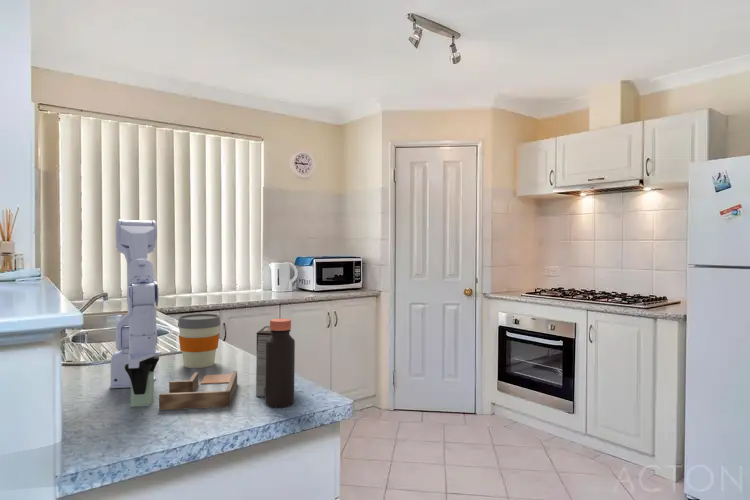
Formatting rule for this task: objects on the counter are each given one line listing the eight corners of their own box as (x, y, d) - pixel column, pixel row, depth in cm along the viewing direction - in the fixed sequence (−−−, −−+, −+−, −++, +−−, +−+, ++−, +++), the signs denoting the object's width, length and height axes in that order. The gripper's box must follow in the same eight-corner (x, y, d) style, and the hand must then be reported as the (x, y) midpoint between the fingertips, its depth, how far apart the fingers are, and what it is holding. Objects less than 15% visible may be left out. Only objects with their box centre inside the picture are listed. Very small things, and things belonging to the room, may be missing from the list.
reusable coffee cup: (220, 358, 160) (220, 312, 159) (220, 367, 148) (220, 318, 147) (178, 361, 156) (179, 314, 155) (176, 371, 144) (176, 320, 143)
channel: (159, 410, 110) (159, 394, 110) (176, 386, 129) (176, 373, 129) (229, 406, 113) (229, 391, 113) (237, 383, 132) (237, 370, 132)
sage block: (130, 406, 113) (130, 376, 113) (135, 401, 117) (135, 372, 116) (149, 405, 113) (149, 375, 113) (153, 400, 117) (153, 371, 117)
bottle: (259, 406, 114) (260, 321, 114) (275, 397, 120) (276, 317, 120) (284, 409, 112) (285, 323, 111) (299, 400, 118) (300, 318, 118)
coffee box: (264, 385, 130) (264, 325, 130) (288, 386, 130) (288, 326, 130) (254, 396, 121) (255, 332, 121) (280, 397, 121) (281, 332, 121)
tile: (200, 384, 131) (200, 383, 131) (205, 376, 139) (205, 375, 139) (231, 382, 132) (231, 381, 132) (234, 374, 140) (234, 373, 140)
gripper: (152, 339, 108) (152, 400, 109) (167, 328, 123) (167, 381, 123) (118, 340, 107) (118, 401, 107) (137, 328, 121) (137, 382, 121)
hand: (142, 391), depth 115 cm, fingers closed on sage block, 4 cm apart
